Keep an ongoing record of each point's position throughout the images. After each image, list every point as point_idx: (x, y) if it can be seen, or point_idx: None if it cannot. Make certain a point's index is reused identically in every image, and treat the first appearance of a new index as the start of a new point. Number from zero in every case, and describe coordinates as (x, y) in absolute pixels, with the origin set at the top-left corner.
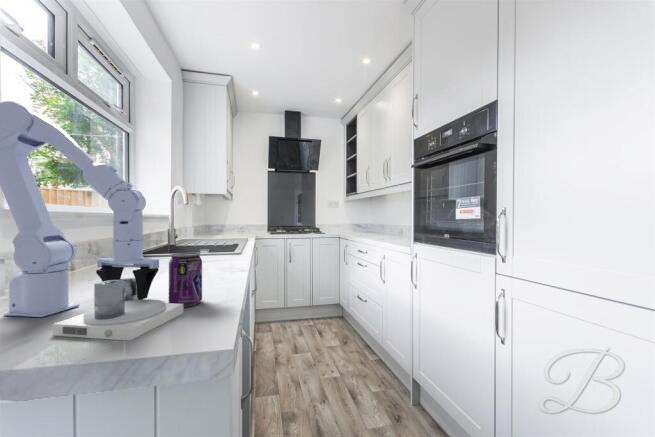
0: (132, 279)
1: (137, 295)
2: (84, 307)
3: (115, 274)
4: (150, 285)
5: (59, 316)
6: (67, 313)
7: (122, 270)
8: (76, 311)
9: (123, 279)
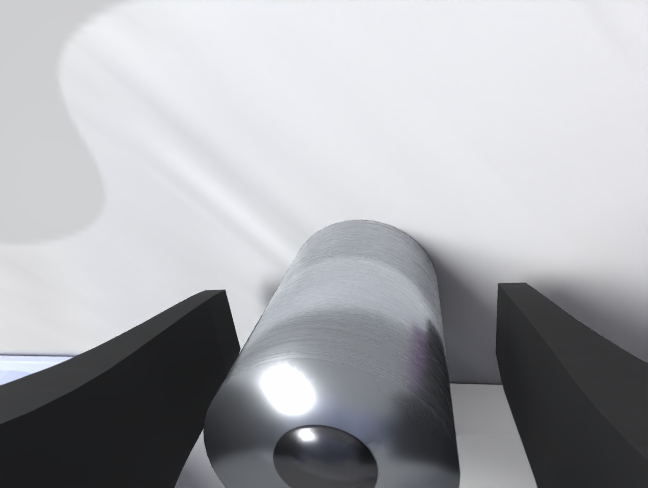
0: (373, 454)
1: (505, 390)
2: None
3: (88, 485)
4: (603, 341)
5: (203, 476)
6: None
7: (9, 428)
8: None
9: (255, 457)
